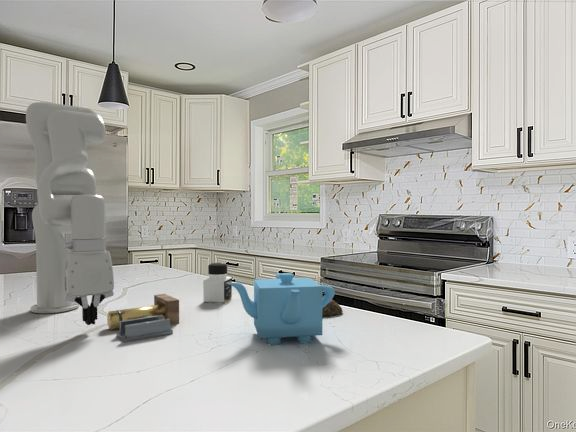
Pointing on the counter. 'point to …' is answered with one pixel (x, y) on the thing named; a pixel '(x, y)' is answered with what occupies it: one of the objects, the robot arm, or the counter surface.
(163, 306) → the axle
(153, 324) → the cradle
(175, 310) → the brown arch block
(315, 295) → the teakettle
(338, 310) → the bread roll
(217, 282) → the medicine bottle
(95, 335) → the counter surface
